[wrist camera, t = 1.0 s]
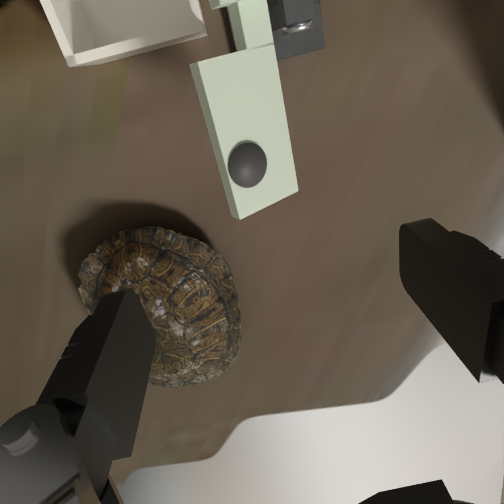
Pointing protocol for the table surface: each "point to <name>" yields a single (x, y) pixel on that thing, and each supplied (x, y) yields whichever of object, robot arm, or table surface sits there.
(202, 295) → the turtle shell
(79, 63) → the white open box
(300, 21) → the fulcrum
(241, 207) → the lever
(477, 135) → the table surface
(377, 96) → the table surface
